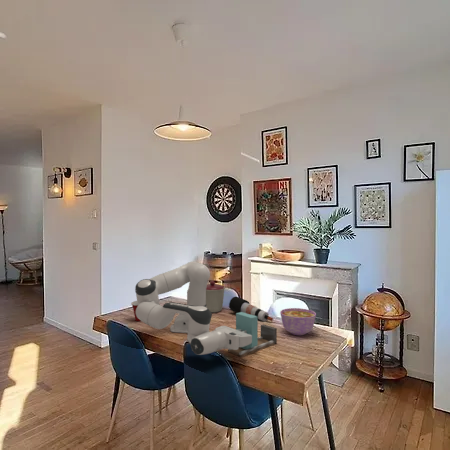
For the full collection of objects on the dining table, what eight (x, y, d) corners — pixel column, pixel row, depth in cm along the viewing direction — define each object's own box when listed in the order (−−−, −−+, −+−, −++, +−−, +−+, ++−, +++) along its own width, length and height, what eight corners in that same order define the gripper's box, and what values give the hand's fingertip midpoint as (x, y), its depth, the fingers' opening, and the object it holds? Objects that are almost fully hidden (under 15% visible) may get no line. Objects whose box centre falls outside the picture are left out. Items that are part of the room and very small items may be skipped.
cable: (268, 330, 208) (264, 318, 204) (231, 313, 233) (227, 302, 229) (278, 320, 213) (275, 308, 209) (241, 305, 239) (237, 293, 235)
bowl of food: (290, 325, 205) (290, 306, 204) (321, 332, 192) (322, 311, 192) (273, 333, 189) (273, 313, 189) (306, 341, 176) (306, 320, 176)
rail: (240, 357, 157) (240, 340, 157) (227, 351, 163) (227, 335, 163) (276, 343, 174) (276, 328, 174) (263, 339, 181) (263, 324, 181)
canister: (216, 306, 250) (216, 278, 249) (230, 311, 235) (230, 281, 234) (195, 309, 239) (194, 280, 239) (208, 315, 224) (208, 284, 224)
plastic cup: (128, 320, 215) (128, 301, 215) (143, 316, 222) (143, 298, 222) (136, 324, 207) (135, 304, 207) (151, 320, 214) (151, 301, 214)
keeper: (251, 351, 160) (251, 318, 160) (235, 345, 168) (235, 313, 168) (258, 349, 163) (258, 316, 163) (242, 343, 171) (242, 311, 171)
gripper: (209, 338, 162) (230, 332, 171) (238, 351, 147) (259, 343, 156) (209, 325, 162) (230, 320, 171) (238, 336, 147) (260, 330, 156)
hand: (244, 331), depth 164 cm, fingers closed
